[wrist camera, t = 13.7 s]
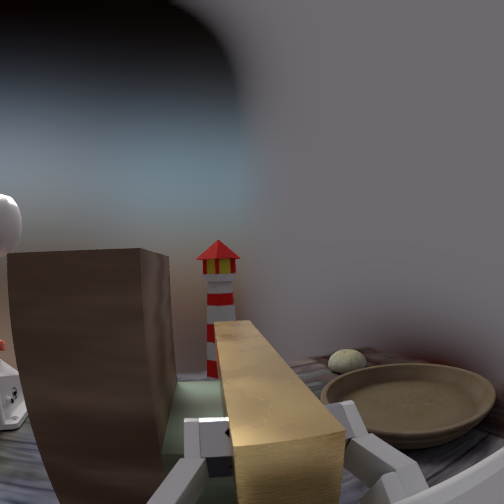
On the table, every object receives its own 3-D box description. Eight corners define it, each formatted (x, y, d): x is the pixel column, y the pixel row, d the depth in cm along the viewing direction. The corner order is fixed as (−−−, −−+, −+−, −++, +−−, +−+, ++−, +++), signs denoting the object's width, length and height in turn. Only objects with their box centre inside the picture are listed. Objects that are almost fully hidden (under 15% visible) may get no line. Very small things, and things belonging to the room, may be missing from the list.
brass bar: (216, 355, 27) (214, 322, 27) (250, 353, 27) (249, 320, 27) (240, 521, 7) (233, 446, 7) (337, 505, 7) (346, 429, 7)
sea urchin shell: (347, 372, 65) (332, 343, 70) (331, 387, 70) (318, 360, 75) (376, 363, 69) (361, 336, 74) (360, 379, 73) (347, 353, 79)
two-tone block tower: (124, 506, 24) (81, 259, 25) (288, 501, 27) (286, 252, 28) (103, 580, 12) (7, 253, 14) (320, 575, 15) (342, 242, 16)
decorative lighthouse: (205, 414, 51) (195, 243, 52) (256, 414, 51) (249, 241, 52) (195, 443, 41) (180, 238, 42) (256, 443, 41) (247, 235, 42)
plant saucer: (457, 374, 57) (459, 354, 57) (521, 436, 26) (528, 408, 27) (323, 385, 64) (323, 365, 64) (313, 467, 34) (315, 439, 34)
